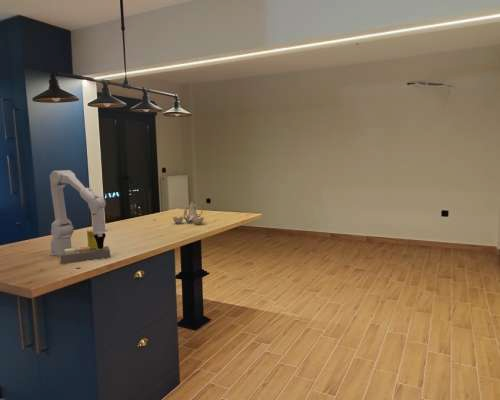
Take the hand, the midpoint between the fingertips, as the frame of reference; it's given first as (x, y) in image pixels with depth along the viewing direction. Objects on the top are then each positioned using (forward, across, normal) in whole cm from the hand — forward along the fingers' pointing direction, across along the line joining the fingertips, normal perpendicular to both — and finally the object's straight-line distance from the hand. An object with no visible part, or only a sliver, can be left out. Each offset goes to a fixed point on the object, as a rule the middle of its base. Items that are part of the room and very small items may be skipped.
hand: (100, 248), depth 191 cm
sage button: (+3, 0, 0) cm, 3 cm away
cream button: (+2, 0, +14) cm, 14 cm away
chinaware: (+5, +75, -67) cm, 101 cm away
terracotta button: (+2, 0, +7) cm, 7 cm away
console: (+4, 0, +7) cm, 8 cm away
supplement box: (+4, +18, +2) cm, 19 cm away
